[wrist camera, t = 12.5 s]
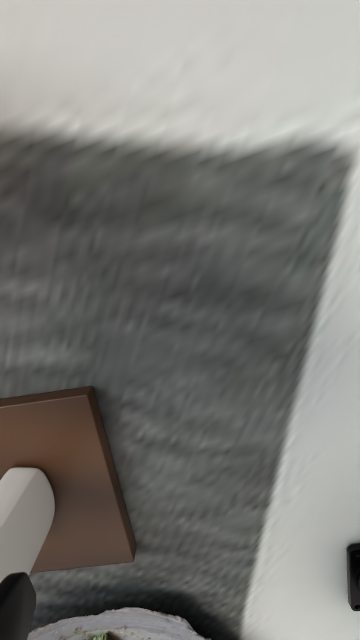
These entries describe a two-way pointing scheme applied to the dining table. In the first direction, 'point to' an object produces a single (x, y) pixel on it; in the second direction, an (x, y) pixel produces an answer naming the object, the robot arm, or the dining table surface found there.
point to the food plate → (119, 627)
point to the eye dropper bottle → (23, 518)
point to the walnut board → (69, 476)
